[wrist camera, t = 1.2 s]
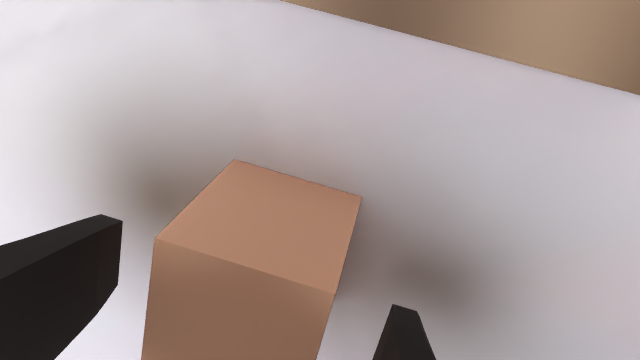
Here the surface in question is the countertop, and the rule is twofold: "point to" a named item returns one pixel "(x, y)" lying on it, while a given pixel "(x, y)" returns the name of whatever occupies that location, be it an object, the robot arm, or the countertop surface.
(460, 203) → the countertop surface
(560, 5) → the walnut board
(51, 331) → the robot arm
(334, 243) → the terracotta block
